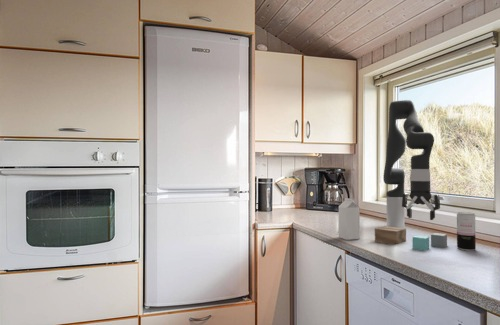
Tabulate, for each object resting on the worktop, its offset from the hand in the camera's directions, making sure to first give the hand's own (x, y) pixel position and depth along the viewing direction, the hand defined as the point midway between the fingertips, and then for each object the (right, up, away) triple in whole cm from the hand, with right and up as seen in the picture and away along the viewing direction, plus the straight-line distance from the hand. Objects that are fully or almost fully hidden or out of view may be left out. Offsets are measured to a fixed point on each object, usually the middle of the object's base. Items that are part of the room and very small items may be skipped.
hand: (420, 218), depth 146 cm
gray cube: (+10, -13, +5) cm, 17 cm away
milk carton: (-24, -13, +21) cm, 34 cm away
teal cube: (0, -13, 0) cm, 13 cm away
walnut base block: (-7, -13, +15) cm, 21 cm away
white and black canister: (+18, -13, -1) cm, 22 cm away
